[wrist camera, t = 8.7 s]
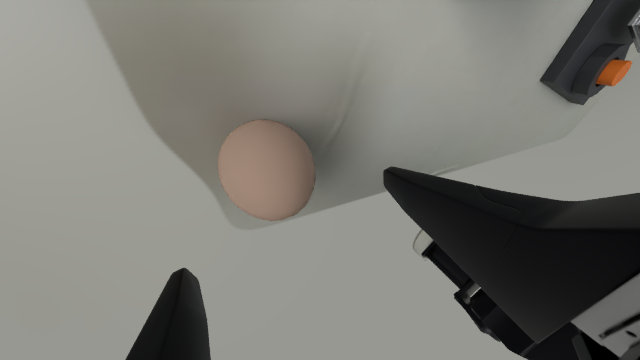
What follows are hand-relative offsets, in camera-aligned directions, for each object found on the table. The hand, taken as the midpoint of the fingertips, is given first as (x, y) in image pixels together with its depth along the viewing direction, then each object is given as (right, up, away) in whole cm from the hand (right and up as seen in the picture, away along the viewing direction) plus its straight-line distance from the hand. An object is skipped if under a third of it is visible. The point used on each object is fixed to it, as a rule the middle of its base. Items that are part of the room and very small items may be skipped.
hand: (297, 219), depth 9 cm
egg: (-4, +4, +6) cm, 8 cm away
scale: (+34, +20, +17) cm, 43 cm away
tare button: (+34, +14, +17) cm, 41 cm away
